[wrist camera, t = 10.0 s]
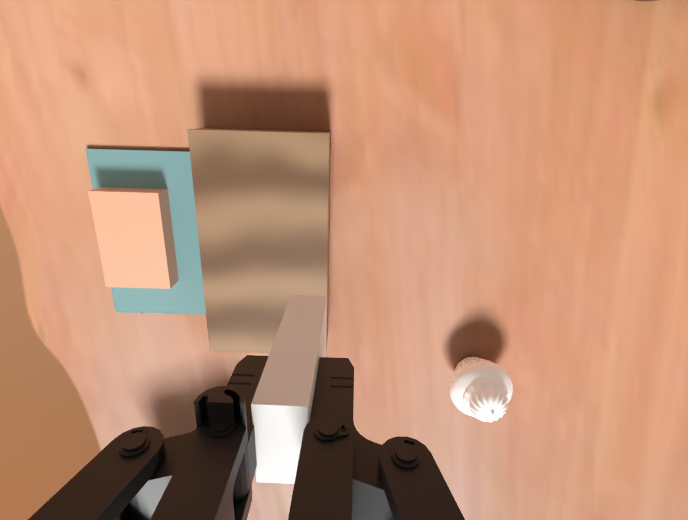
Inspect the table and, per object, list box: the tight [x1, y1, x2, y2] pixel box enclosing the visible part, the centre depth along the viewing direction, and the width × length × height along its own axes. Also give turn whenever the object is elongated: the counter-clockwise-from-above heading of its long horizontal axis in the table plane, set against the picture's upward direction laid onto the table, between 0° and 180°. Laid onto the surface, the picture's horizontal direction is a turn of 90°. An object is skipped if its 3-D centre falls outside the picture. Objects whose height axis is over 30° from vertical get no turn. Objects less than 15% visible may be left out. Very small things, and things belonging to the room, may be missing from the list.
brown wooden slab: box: [188, 128, 331, 353], centre depth 36 cm, size 20×11×4 cm, turn 179°
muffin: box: [450, 357, 513, 422], centre depth 40 cm, size 6×6×7 cm
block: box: [88, 187, 179, 289], centre depth 37 cm, size 9×6×2 cm, turn 178°
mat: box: [86, 149, 206, 314], centre depth 38 cm, size 16×11×1 cm
